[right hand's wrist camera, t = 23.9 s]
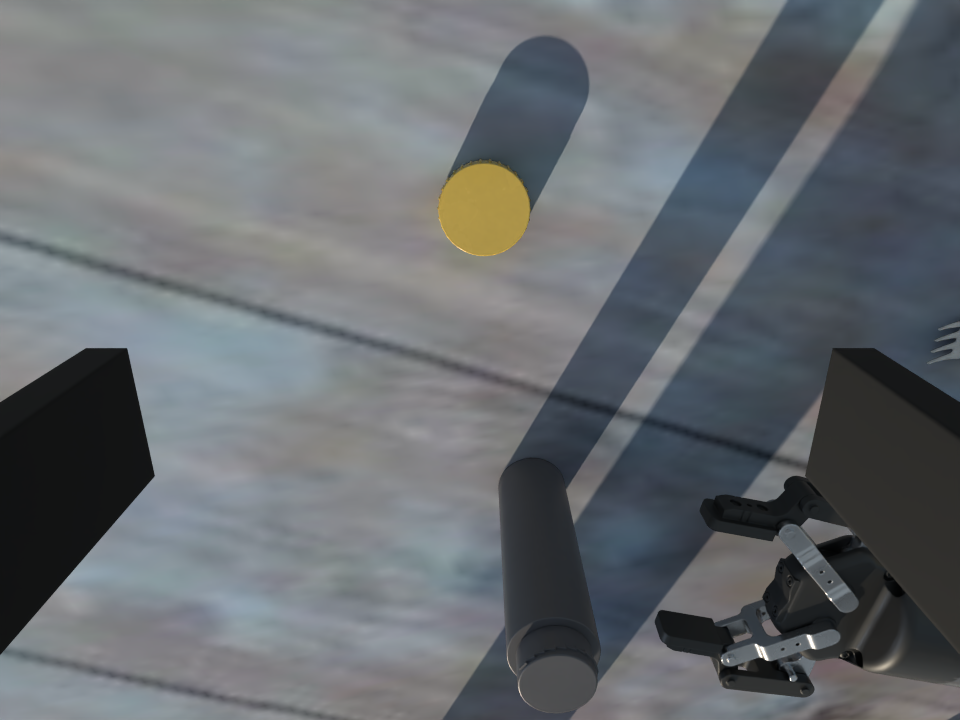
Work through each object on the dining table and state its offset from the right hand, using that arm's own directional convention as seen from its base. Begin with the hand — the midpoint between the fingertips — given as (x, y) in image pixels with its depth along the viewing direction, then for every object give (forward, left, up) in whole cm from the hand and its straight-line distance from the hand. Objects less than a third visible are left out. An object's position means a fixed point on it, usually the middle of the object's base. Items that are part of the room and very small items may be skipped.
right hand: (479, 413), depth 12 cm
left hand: (+22, +8, -20) cm, 31 cm away
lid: (0, 0, -25) cm, 25 cm away
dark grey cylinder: (+19, 0, -27) cm, 33 cm away
